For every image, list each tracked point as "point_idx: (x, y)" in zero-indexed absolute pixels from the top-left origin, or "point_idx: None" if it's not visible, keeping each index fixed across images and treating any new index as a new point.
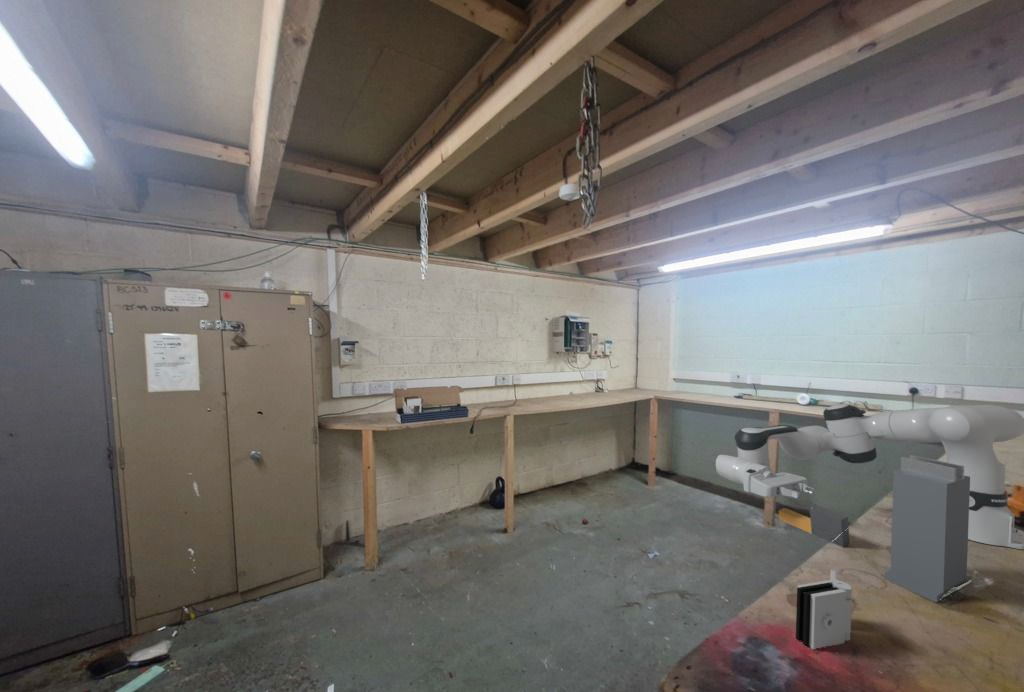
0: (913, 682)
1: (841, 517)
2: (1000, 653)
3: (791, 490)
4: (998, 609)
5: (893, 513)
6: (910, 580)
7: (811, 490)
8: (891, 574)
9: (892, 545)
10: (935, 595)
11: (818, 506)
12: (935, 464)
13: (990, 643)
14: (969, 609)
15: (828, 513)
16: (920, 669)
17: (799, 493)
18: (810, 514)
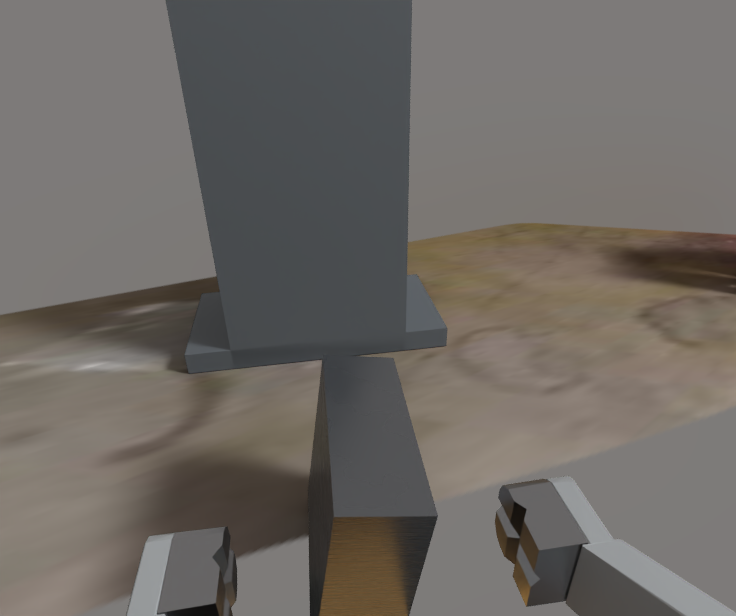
0: (685, 232)
1: (360, 366)
2: (468, 237)
3: (602, 546)
4: None
5: (409, 119)
6: (407, 304)
7: (228, 530)
8: (433, 321)
9: (406, 249)
10: (416, 276)
11: (341, 494)
12: None
13: (456, 244)
14: None
15: (383, 413)
16: (650, 238)
17: (520, 484)
18: (425, 556)
